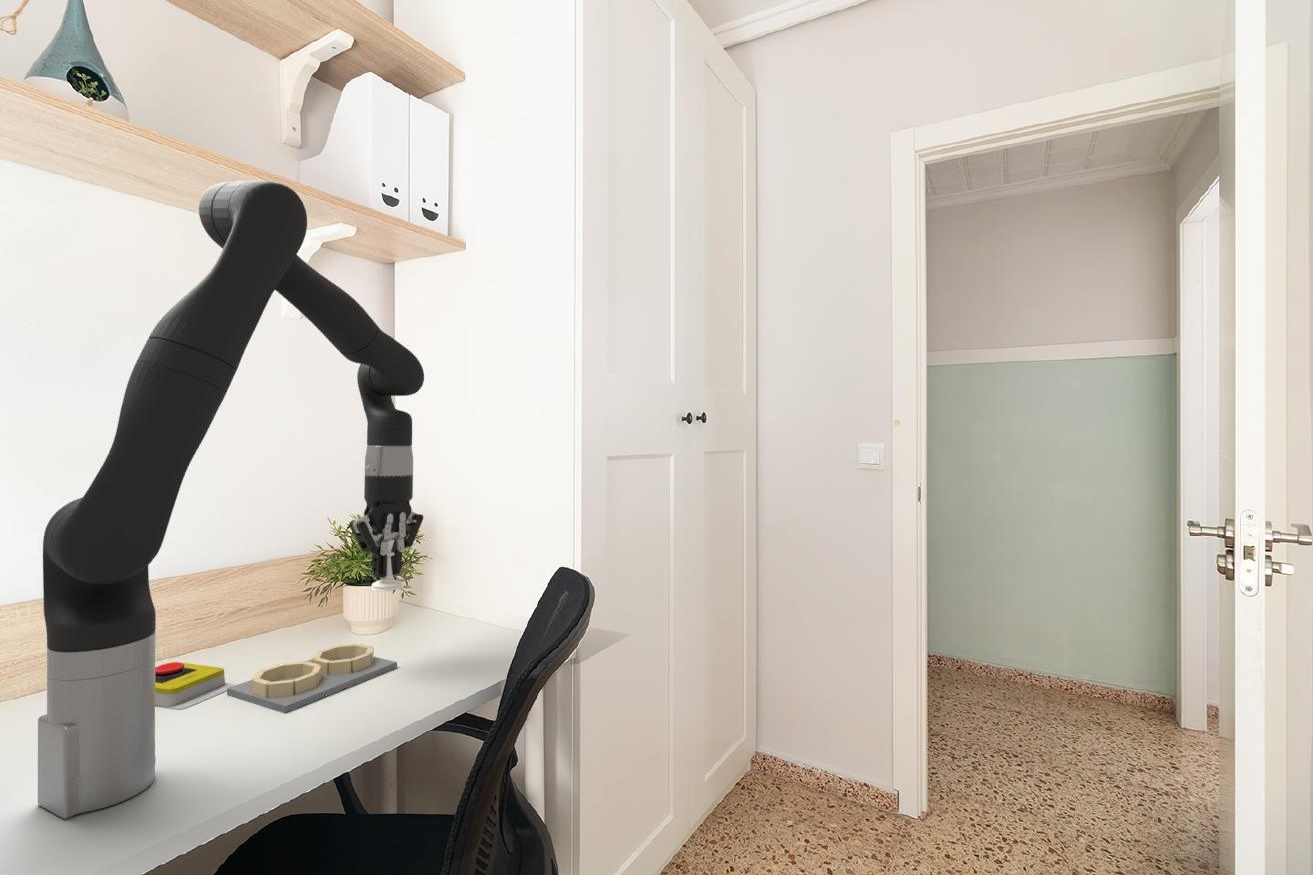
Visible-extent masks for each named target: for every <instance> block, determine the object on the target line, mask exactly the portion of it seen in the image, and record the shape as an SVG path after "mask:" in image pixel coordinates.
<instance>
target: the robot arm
mask: <svg viewBox="0 0 1313 875" xmlns="http://www.w3.org/2000/svg"><path fill="white" fill-rule="evenodd" d="M198 216H199V219H200V223H201V225H202V227H203V229H204V231H205V232H206V233H207V235H208V236H209V237H210V239H211V240H212V241H213V242H214V243H215V244H216V245H217V246H219V247H220V248H221V249H222V251H221V253H220V255H219V256H218V259H217V260H216V262H215V263H214V265H213V266H212V268H211V269H210V271H209V272H208V273H207V274H206V275H205V277H203V278H202V280H200V282H198V284H196V286H194V287H193V288H192V289H191V290H190V291H188V292H187V293H186V295H184V296H183V297H182V298H181V299H180V300H179V301H178V302H176V303H175V304H174V305H173V306H172V307H171V308H170V309H169V310H168V311H167V312H165V314H164V315H163V316H162V317H161V318H160V320H159V321H158V322H157V324H156V325H155V326H154V328H153V330H152V331H151V333H150V335H149V337H148V339H147V340H146V342H145V344H144V345H143V347H142V350H141V352H140V353H139V356H138V357H137V360H136V362H135V363H134V366H133V369H132V371H131V373H130V375H129V378H128V381H127V385H126V388H125V390H124V394H123V399H122V404H121V407H120V411H119V412H120V413H119V417H118V422H117V426H116V430H115V434H114V438H113V441H112V445H111V447H110V448H109V449H110V450H109V452H108V454H107V455H106V458H105V459H104V461H103V464H102V465H101V467H100V469H99V471H98V472H97V474H96V476H95V477H94V479H92V481H91V483H90V486H89V487H88V489H87V490H86V492H85V494H84V495H83V496H82V497H80V498H77V499H74V500H72V501H70V502H68V503H66V504H65V505H63V506H62V507H60V508H59V509H58V510H57V511H56V512H55V513H54V514H53V515H52V516H51V518H50V519H49V521H48V523H47V524H46V527H45V529H44V534H43V540H42V586H43V589H42V590H43V592H42V593H43V616H44V621H45V622H44V623H45V629H46V630H45V631H46V675H47V676H46V714H43V715H41V716H39V718H38V719H37V805H38V806H40V807H42V808H44V809H45V810H48V811H49V812H51V813H53V814H54V815H56V816H58V817H60V818H61V819H69V818H70V817H73V816H75V815H78V814H83V813H87V812H91V811H97V810H100V809H103V808H108V807H111V806H113V805H117V804H119V803H122V802H123V801H126V800H129V799H131V798H132V797H135V796H136V795H138V794H140V793H141V792H143V791H145V790H146V789H147V788H148V787H149V786H150V785H151V784H153V782H154V780H155V778H156V761H157V760H156V759H157V758H156V706H155V667H156V629H157V628H156V622H157V621H156V609H155V605H154V602H153V599H152V594H151V590H150V581H149V578H150V577H149V574H150V572H149V566H150V564H151V563H152V562H153V560H154V559H155V558H156V556H158V553H159V551H160V550H161V547H162V545H163V542H164V539H165V537H166V533H167V531H168V527H169V524H170V520H171V517H172V513H173V510H174V508H175V505H176V501H177V500H178V497H179V496H178V495H179V492H180V489H181V486H182V483H183V480H184V478H185V475H186V473H187V472H188V468H189V466H190V464H191V463H192V460H193V458H194V457H195V454H196V453H197V451H198V449H199V447H200V446H201V444H202V442H203V440H204V438H205V437H206V435H207V433H208V430H209V429H210V426H211V425H212V423H213V421H214V419H215V417H216V415H217V412H218V411H219V409H220V406H221V404H222V402H223V401H224V400H225V397H226V395H227V392H228V390H229V388H230V386H231V385H232V382H233V379H234V377H235V375H236V373H237V370H238V368H239V366H240V364H241V361H242V358H243V357H244V354H245V351H246V349H247V347H248V344H249V342H250V341H251V339H252V336H253V334H254V332H255V331H256V328H257V327H258V324H259V322H260V320H261V318H262V315H263V314H264V311H265V309H266V307H267V305H268V303H269V301H270V299H271V297H272V295H273V294H274V291H275V292H277V293H278V294H279V295H281V297H283V298H284V299H286V301H288V303H290V304H291V305H292V306H293V307H295V309H297V310H298V311H299V312H300V313H301V314H302V315H303V316H304V317H305V318H306V319H307V320H309V321H310V323H312V324H313V326H315V328H316V329H317V330H318V331H319V332H320V333H321V334H322V335H323V336H324V337H325V339H327V340H328V341H329V343H330V344H332V346H333V347H334V348H335V349H336V350H337V351H338V352H339V353H340V354H341V355H342V356H343V357H344V358H345V359H347V360H348V361H349V362H352V363H355V364H358V365H359V364H360V365H359V367H358V369H357V376H356V380H357V381H356V382H357V387H358V390H359V394H360V399H361V402H362V407H363V411H364V413H365V417H366V422H367V428H366V429H367V430H366V445H367V446H366V449H365V450H366V453H365V457H364V490H363V494H364V495H363V497H364V501H365V502H366V506H365V509H364V512H363V515H362V516H361V517H360V518H358V519H357V520H354V519H352V520H350V522H349V527H350V529H351V532H352V534H353V535H354V537H355V539H356V541H357V543H358V546H359V548H360V551H362V552H364V553H368V554H371V556H372V557H371V558H372V560H371V561H372V562H371V563H372V564H371V566H372V567H371V569H372V570H371V571H372V574H373V575H374V577H375V578H379V579H380V578H384V577H386V576H387V555H385V554H386V552H387V543H388V541H389V540H390V538H391V539H394V544H393V546H392V549H391V551H392V552H393V553H394V554H395V555H393V556H391V566H392V574H393V576H398V575H400V574H401V570H402V568H403V567H402V566H403V564H402V563H403V552H404V551H405V550H406V548H411V547H412V546H413V545H414V541H415V540H416V537H417V535H418V532H419V531H420V527H421V525H422V523H423V520H424V515H423V514H421V513H420V514H419V513H416V512H414V511H412V505H411V503H410V501H411V500H412V499H413V496H414V494H413V493H414V491H413V490H414V454H413V418H412V415H411V414H410V413H408V412H407V411H403V410H400V409H397V408H396V407H395V405H394V401H393V399H392V397H396V396H397V397H405V396H406V397H407V396H408V397H409V396H413V395H414V394H415V395H416V393H418V392H419V391H420V390H421V389H422V387H423V385H424V381H425V373H424V369H423V366H422V364H421V362H420V360H419V359H418V357H417V356H416V355H415V354H414V353H413V352H412V351H410V350H409V349H408V347H406V346H404V345H403V344H402V343H400V342H399V341H398V340H396V339H395V338H393V337H392V336H390V335H389V334H387V333H385V332H384V331H383V330H382V329H381V328H380V327H379V326H378V324H377V323H376V322H375V320H374V319H373V318H372V317H371V316H370V315H369V313H367V311H366V309H365V308H364V307H362V305H361V304H360V303H358V301H356V300H355V299H354V298H353V297H352V296H351V295H350V294H349V293H348V292H346V291H345V290H344V289H342V288H341V287H340V286H338V285H337V284H335V283H333V282H332V281H331V280H329V279H328V278H327V277H325V276H324V275H322V274H321V273H319V272H318V271H317V270H316V269H314V268H313V267H312V266H310V264H308V263H307V262H305V260H303V258H301V257H300V256H299V255H298V253H299V251H300V249H301V248H302V246H303V243H304V241H305V237H306V235H307V229H308V214H307V210H306V207H305V205H304V202H303V201H302V199H301V197H300V196H299V195H298V194H297V192H296V191H295V190H293V189H292V188H291V187H289V186H287V185H285V184H283V183H280V182H275V181H271V180H270V181H269V180H238V181H237V180H234V181H233V180H232V181H224V182H218V183H216V184H213V185H211V186H209V187H207V189H206V190H205V191H204V192H203V193H202V195H201V197H200V199H199V203H198ZM391 532H392V534H391Z"/></svg>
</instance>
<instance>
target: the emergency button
mask: <svg viewBox="0 0 1313 875" xmlns="http://www.w3.org/2000/svg"><path fill="white" fill-rule="evenodd" d="M225 677H226V676H225V669H224V667H218V666H211V665H204V664H195V663H188V662H180V661H171V662H167V663H164V664H160V665H158V666H155V708H156V707H157V708H164V709H168V710H169V709H170V710H175V711H176V710H177V711H181V710H186V709H189V708H191V707H193V706H196V705H199V704H201V703H202V702H205V701H207V700H210V699H212V698H215V697H216V696H217V697H218V696H219V695H222V694H224V693H227V688H229V687H232V686H235V685H236V684H233V683H226V678H225Z"/></svg>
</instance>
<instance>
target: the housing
mask: <svg viewBox="0 0 1313 875" xmlns="http://www.w3.org/2000/svg"><path fill="white" fill-rule="evenodd" d="M374 649H375V648H374V646H372V645H368V644H363V643H350V644H349V643H346V644H338V645H333V646H329V647H327V648H324V649H321V650H318V651H316V652H315V654H314V656H313V658H312V659H310V660H306V661H295V662H285V663H281V664H279V663H278V664H276V665H272V666H270V667H267V668H264V669H260V670H259V671H257V672H256V673H255V674H254V675H253V677H252V678H251V679H250V680H246V681H244V682H240V683H239V684H234V685H235V686H232V687H229V688H227V692H226V695H227V696H230V697H233V698H236V699H239V700H242V701H246V702H249V703H252V704H255V705H258V706H262V707H265V708H269V709H271V710H275V711H277V712H280V713H284V714H287V713H289V712H291V711H295V710H297V709H299V708H301V707H300V706H302V707H304V706H306V705H305V704H307V705H309V704H311V703H314V702H316V701H315V700H317V701H319V700H321V699H320V698H322V697H324V696H326V695H329V694H331V693H334V694H335V692H336V693H338V692H337V691H339V692H341V691H343V690H342V689H344V688H346V689H348V688H347V687H349V686H351V685H354V684H356V685H358V684H357V683H359V684H361V683H364V682H366V681H368V680H371V679H373V678H376V677H378V676H380V674H381V675H383V674H385V673H388V672H390V671H393V670H395V669H397V668H398V662H397V661H396V660H395V661H394V660H389V659H385V658H381V657H376V656H375V655H374ZM382 673H383V674H382ZM375 676H376V677H375ZM365 680H366V681H365ZM354 686H355V685H354ZM351 687H352V686H351ZM349 688H350V687H349ZM340 690H341V691H340ZM344 690H345V689H344ZM331 695H332V694H331ZM329 696H330V695H329ZM326 697H327V696H326ZM324 698H325V697H324ZM318 699H319V700H318ZM322 699H323V698H322ZM303 705H304V706H303ZM296 708H297V709H296Z"/></svg>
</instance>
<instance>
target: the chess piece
mask: <svg viewBox="0 0 1313 875" xmlns="http://www.w3.org/2000/svg"><path fill="white" fill-rule="evenodd" d="M391 534H392V532H391ZM393 544H394V539H391V538H390V540H389V541H388V543H387V552H386V554H385V555H387V576H386V577H384V578H379V579H380V580H377V581H375V582H372V584H371V587H370V590H372V591H375V592H390V591H396V590H400V589H402V588H404V586H403V581H401V580H398V579H395V576H394V575H393V574H392V566H391V556H393V555H395V554H394V553H393V552H392V551H391V549H392V546H393Z"/></svg>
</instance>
